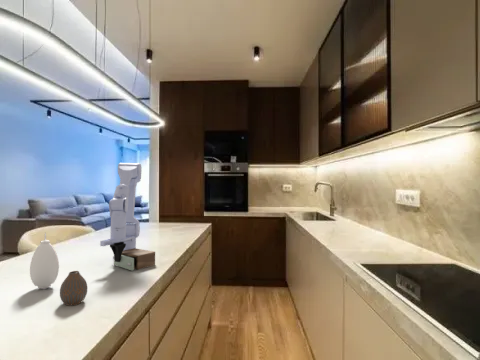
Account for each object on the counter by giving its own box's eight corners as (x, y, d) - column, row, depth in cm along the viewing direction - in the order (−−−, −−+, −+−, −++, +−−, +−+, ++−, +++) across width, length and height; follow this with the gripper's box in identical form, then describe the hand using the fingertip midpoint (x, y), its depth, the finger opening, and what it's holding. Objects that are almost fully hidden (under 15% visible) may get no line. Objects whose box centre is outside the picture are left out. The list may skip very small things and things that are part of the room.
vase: (58, 309, 82) (59, 276, 82) (60, 300, 88) (60, 270, 88) (87, 305, 85) (87, 273, 86) (87, 296, 91) (87, 267, 92)
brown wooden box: (116, 265, 128) (116, 251, 128) (134, 260, 136) (134, 248, 136) (137, 269, 121) (138, 255, 121) (155, 264, 129) (155, 251, 129)
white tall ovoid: (37, 294, 93) (38, 235, 94) (24, 289, 98) (26, 232, 98) (63, 287, 100) (64, 231, 100) (50, 282, 104) (51, 230, 105)
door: (110, 265, 126) (111, 253, 126) (115, 264, 128) (115, 253, 128) (129, 271, 118) (129, 259, 118) (133, 270, 119) (134, 258, 119)
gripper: (108, 230, 116) (107, 266, 115) (139, 226, 128) (138, 259, 127) (97, 229, 119) (96, 264, 119) (128, 225, 132) (127, 257, 131)
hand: (117, 261), depth 123 cm, fingers closed
